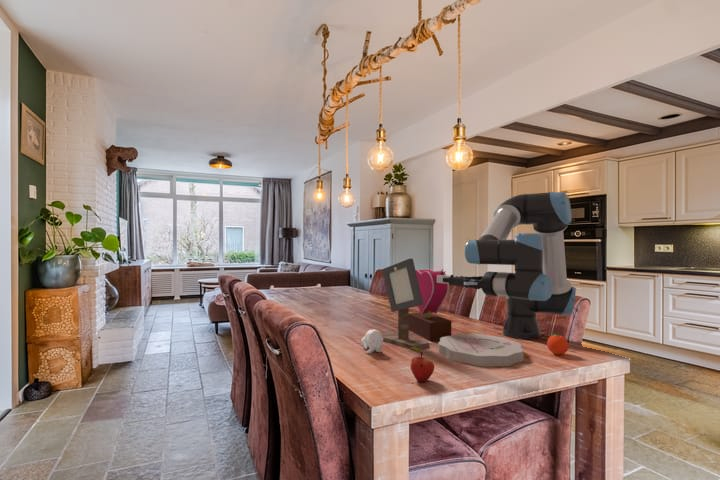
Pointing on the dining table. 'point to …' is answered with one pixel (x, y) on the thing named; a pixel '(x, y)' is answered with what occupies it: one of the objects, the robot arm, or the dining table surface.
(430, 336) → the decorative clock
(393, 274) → the picture frame
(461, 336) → the decorative plaque
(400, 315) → the display stand
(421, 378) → the apple
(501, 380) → the dining table surface
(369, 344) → the white animal figurine
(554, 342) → the clementine
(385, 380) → the dining table surface
